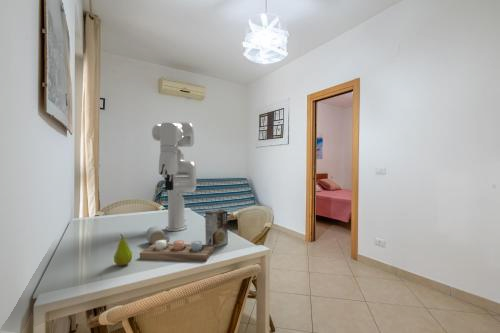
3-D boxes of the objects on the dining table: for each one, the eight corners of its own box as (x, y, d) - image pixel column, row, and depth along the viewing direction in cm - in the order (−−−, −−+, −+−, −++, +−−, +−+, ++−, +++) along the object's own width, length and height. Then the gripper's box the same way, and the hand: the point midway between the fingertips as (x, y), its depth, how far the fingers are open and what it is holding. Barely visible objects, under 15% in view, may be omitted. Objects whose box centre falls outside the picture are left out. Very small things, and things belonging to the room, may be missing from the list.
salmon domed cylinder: (176, 249, 100) (176, 240, 101) (185, 249, 100) (185, 240, 100) (171, 252, 96) (171, 243, 96) (181, 253, 96) (181, 243, 96)
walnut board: (155, 248, 106) (155, 243, 106) (214, 250, 102) (214, 244, 102) (139, 258, 94) (139, 252, 94) (206, 261, 91) (206, 255, 91)
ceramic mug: (150, 247, 107) (150, 230, 107) (145, 242, 114) (145, 227, 114) (172, 242, 114) (172, 227, 114) (166, 238, 120) (166, 224, 120)
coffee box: (220, 240, 116) (220, 209, 116) (228, 243, 111) (228, 210, 112) (204, 245, 110) (204, 211, 110) (212, 248, 105) (212, 213, 105)
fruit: (136, 262, 90) (136, 231, 90) (124, 269, 84) (124, 236, 84) (122, 260, 92) (122, 230, 92) (109, 267, 86) (109, 235, 86)
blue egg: (193, 249, 100) (193, 240, 100) (203, 250, 99) (203, 240, 99) (189, 253, 95) (189, 244, 95) (200, 254, 95) (200, 244, 95)
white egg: (158, 248, 101) (158, 239, 101) (168, 249, 101) (168, 239, 101) (153, 252, 97) (153, 242, 97) (163, 252, 97) (163, 243, 97)
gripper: (168, 151, 113) (169, 188, 113) (152, 148, 98) (152, 191, 98) (183, 151, 112) (183, 188, 112) (169, 148, 97) (169, 191, 97)
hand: (169, 189), depth 105 cm, fingers closed
